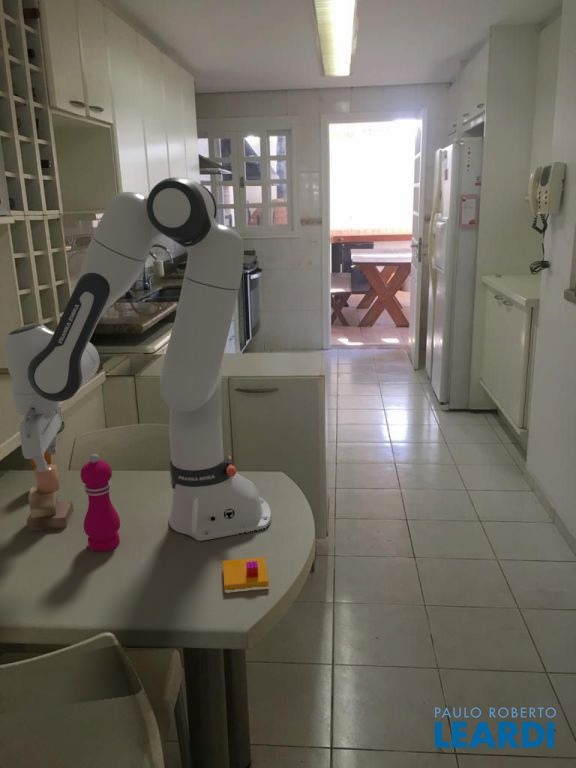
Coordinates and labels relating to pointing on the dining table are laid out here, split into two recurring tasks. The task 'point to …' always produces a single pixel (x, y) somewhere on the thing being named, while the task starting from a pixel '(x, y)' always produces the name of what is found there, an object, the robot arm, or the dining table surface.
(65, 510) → the slab
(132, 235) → the robot arm
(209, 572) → the dining table surface
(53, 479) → the tan capsule
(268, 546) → the dining table surface
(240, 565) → the orange square tile
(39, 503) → the cube
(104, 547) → the pepper mill
